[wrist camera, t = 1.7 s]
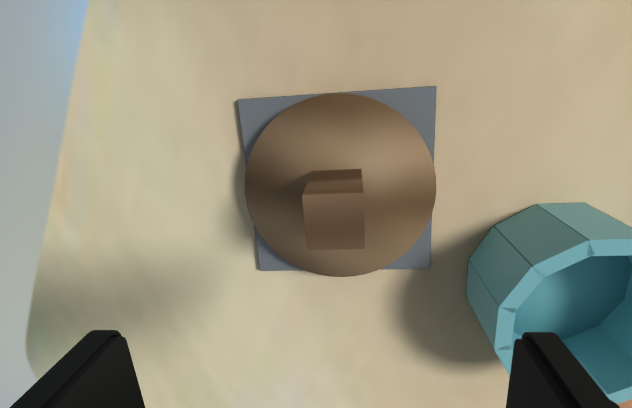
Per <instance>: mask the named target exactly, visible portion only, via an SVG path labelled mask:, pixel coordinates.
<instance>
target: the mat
mask: <svg viewBox="0 0 632 408" xmlns="http://www.w3.org/2000/svg"><path fill="white" fill-rule="evenodd" d="M340 93H350V94H357V95H362V96H366V97H369V98H373V99H375V100H377V101H379V102H382V103H384V104H386V105H387V106H389V107H391V108H392V109H394V110H396V111H397V112H398V113H399V114H401V115H402V116H403V117H404V118H405V119H407V120H408V121H409V122H410V123H411V125H412V126H413V127H414V128H415V129H416V130H417V131H418V133H419V134H420V136H421V137H422V139H423V140H424V142H425V144H426V146H427V148H428V150H429V152H430V155H431V158H432V161H433V164H434V140H435V112H436V86H427V87H413V88H398V89H383V90H369V91H354V92H340ZM325 94H331V93H325ZM319 95H324V94H310V95H296V96H281V97H266V98H252V99H239V100H238V107H239V115H240V122H241V130H242V138H243V145H244V153H245V160H246V168H247V163H248V160H249V157H250V154H251V151H252V149H253V147H254V145H255V143H256V141H257V139H258V137H259V136H260V135H261V133H262V132H263V130H264V129H265V128H266V127H267V126H268V125H269V123H270V122H271V121H272V120H273V119H274V118H276V117H277V116H278V115H279V114H281V113H282V112H283V111H284V110H286V109H288V108H289V107H291V106H293V105H294V104H297V103H299V102H301V101H304V100H306V99H308V98H312V97H315V96H319ZM431 223H432V214H431V217H430V219H429V222H428V224H427V226H426V228H425V229H424V231H423V233H422V235H421V236H420V237H419V239H418V240H417V241H416V243H415V244H414V245H413V246H412V247H411V248H410V249H409V250H408V251H407V252H406V253H405V254H404V255H402V256H401V257H400V258H398V259H397V260H396V261H394V262H392V263H391V264H389V265H387V266H385V267H383V268H381V269H430V250H431ZM254 228H255V236H256V243H257V251H258V258H259V266H260V271H281V270H304V269H302V268H299V267H297V266H295V265H293V264H292V263H290V262H288V261H287V260H285V259H284V258H283V257H281V256H280V255H278V254H277V253H276V252H275V251H274V250H273V249H272V248H271V247H270V246H269V245H268V244H267V243H266V241H265V240H264V239H263V238H262V236H261V235H260V233H259V232H258V230H257V228H256V226H255V224H254Z"/></svg>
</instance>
